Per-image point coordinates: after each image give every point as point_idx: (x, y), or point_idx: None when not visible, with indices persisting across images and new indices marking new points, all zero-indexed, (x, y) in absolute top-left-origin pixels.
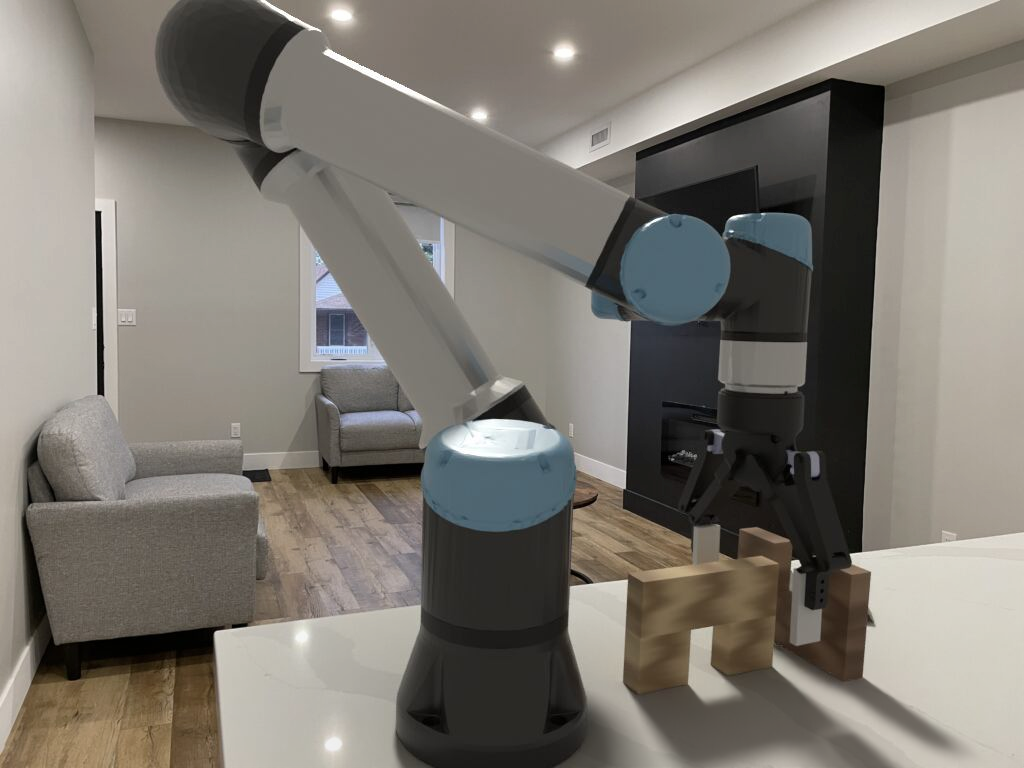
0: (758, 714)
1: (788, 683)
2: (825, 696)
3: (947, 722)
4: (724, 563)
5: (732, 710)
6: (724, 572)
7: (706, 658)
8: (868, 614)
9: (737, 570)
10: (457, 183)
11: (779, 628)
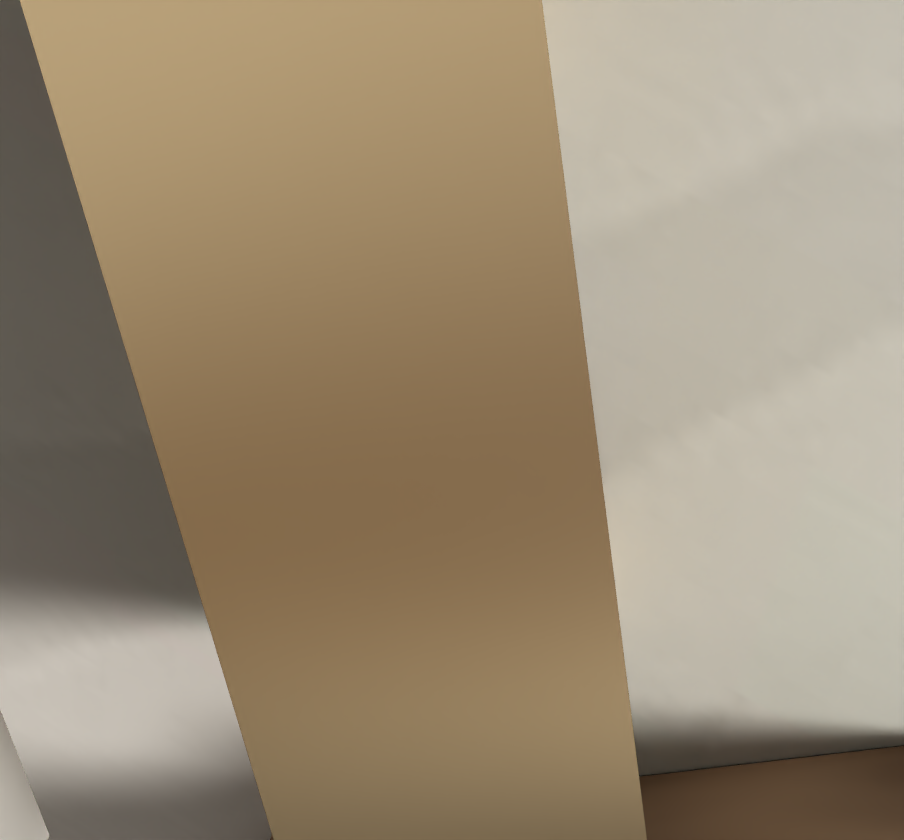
0: (30, 323)
1: None
2: (165, 683)
3: None
4: (528, 794)
5: (70, 219)
6: (219, 629)
7: (603, 369)
8: None
9: (275, 821)
10: None
11: (669, 836)
